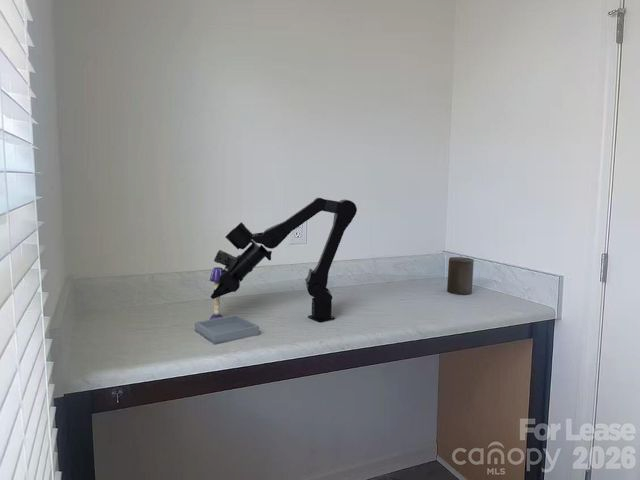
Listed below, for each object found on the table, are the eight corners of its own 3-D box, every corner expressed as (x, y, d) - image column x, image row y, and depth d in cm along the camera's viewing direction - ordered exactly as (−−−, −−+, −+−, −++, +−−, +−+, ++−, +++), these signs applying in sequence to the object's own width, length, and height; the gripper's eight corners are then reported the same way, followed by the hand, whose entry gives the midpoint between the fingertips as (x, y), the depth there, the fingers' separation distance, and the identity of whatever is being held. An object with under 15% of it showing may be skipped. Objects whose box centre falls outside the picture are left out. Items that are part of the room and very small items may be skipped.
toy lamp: (219, 316, 147) (218, 265, 145) (228, 319, 144) (228, 267, 142) (207, 320, 144) (206, 268, 141) (216, 323, 141) (215, 270, 138)
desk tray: (259, 334, 131) (259, 326, 131) (214, 344, 123) (214, 335, 122) (237, 322, 142) (237, 314, 141) (194, 330, 134) (194, 322, 133)
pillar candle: (450, 294, 181) (452, 257, 179) (444, 288, 191) (446, 253, 189) (475, 295, 181) (477, 257, 179) (468, 289, 190) (470, 253, 188)
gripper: (232, 237, 150) (198, 271, 151) (227, 246, 132) (188, 284, 132) (256, 261, 152) (223, 294, 152) (254, 273, 134) (216, 310, 134)
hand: (213, 295), depth 143 cm, fingers open, 7 cm apart
